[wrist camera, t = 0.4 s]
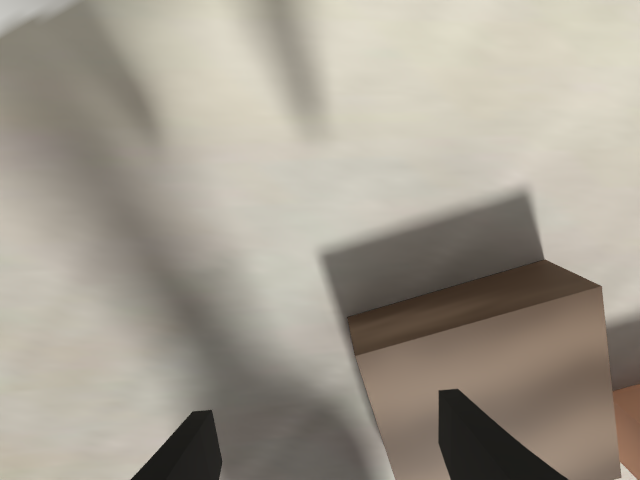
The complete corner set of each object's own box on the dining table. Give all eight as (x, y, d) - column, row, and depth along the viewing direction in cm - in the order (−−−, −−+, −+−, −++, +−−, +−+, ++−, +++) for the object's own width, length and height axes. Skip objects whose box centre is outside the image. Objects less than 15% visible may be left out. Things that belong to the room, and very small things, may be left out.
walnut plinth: (568, 421, 23) (621, 477, 19) (395, 467, 23) (411, 529, 20) (545, 259, 20) (601, 286, 16) (347, 317, 20) (355, 356, 17)
